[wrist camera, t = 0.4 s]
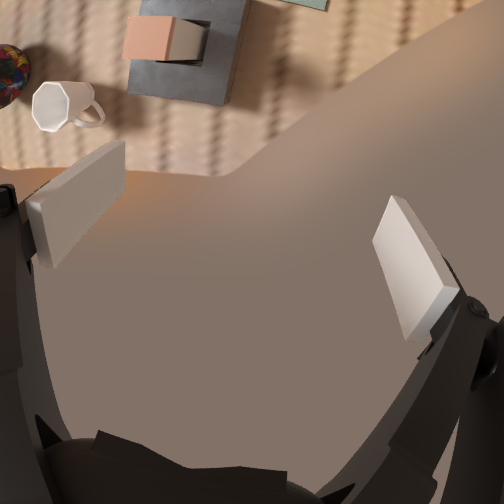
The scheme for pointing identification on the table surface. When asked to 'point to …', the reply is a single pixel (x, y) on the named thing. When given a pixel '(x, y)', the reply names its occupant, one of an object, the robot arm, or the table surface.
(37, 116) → the cup
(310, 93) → the table surface
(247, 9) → the grey square holder
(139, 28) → the plug
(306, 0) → the mat
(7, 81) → the egg
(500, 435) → the robot arm
